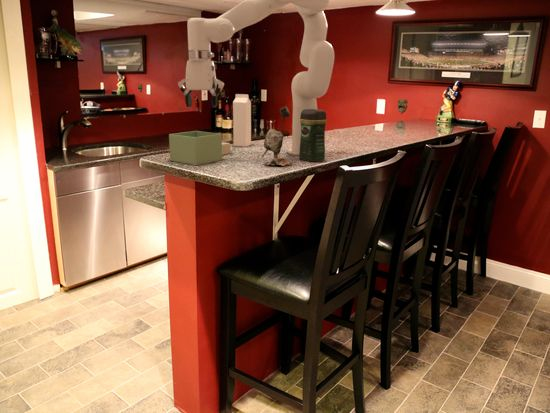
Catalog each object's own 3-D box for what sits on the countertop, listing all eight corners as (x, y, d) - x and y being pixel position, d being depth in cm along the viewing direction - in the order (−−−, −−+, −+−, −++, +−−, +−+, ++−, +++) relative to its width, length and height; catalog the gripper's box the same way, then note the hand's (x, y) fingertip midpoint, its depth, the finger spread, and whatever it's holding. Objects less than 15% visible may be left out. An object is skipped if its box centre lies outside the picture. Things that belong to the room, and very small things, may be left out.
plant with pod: (272, 160, 163) (272, 105, 157) (295, 165, 156) (297, 106, 150) (256, 163, 157) (256, 105, 152) (279, 168, 150) (280, 107, 144)
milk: (238, 144, 201) (238, 93, 195) (251, 145, 199) (251, 94, 193) (233, 146, 195) (232, 94, 189) (246, 146, 194) (245, 94, 187)
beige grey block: (230, 153, 177) (230, 143, 176) (222, 154, 174) (222, 144, 173) (221, 151, 180) (220, 141, 179) (213, 153, 177) (213, 143, 176)
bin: (222, 159, 164) (221, 133, 161) (196, 165, 153) (195, 137, 151) (196, 155, 171) (195, 130, 168) (170, 160, 161) (168, 134, 158)
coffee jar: (328, 160, 164) (330, 109, 159) (311, 163, 160) (313, 110, 155) (311, 156, 172) (313, 107, 167) (295, 158, 168) (296, 108, 162)
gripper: (227, 57, 156) (228, 107, 161) (182, 56, 160) (184, 105, 165) (218, 56, 149) (219, 108, 154) (172, 56, 153) (174, 107, 158)
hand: (201, 106), depth 159 cm, fingers open, 9 cm apart
